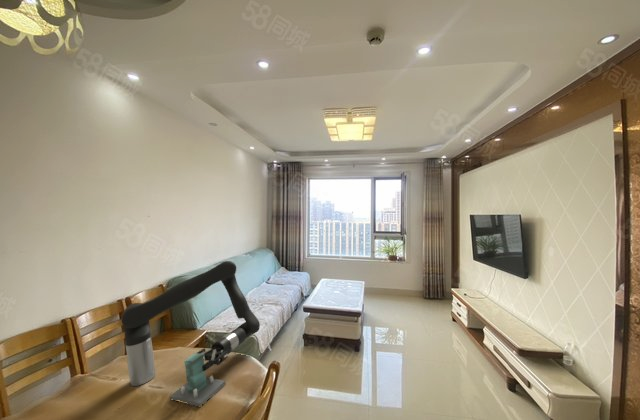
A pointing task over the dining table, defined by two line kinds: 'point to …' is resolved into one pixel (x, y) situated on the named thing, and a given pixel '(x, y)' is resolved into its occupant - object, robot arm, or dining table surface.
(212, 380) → the peg plate
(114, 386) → the dining table surface
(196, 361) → the teal post
